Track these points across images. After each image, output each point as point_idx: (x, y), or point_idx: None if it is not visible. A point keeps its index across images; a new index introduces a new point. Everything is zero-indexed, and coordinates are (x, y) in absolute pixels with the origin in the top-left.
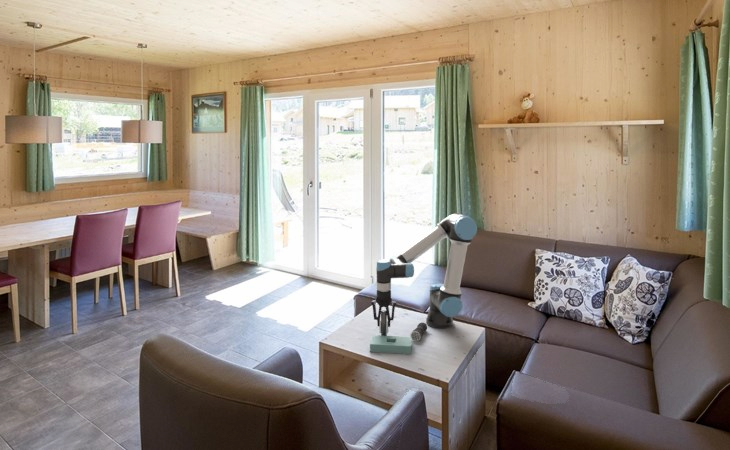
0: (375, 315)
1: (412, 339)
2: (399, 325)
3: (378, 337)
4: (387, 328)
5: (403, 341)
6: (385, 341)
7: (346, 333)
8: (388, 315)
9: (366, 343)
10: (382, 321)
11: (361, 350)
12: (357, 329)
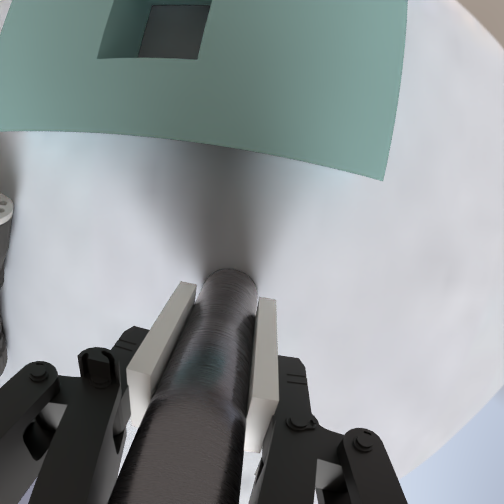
0: (368, 494)
1: (10, 204)
2: None
3: (313, 93)
4: (167, 310)
5: (47, 18)
6: None
7: (492, 356)
8: (64, 451)
9: (413, 159)
10: (222, 392)
11: (449, 34)
12: (411, 417)
